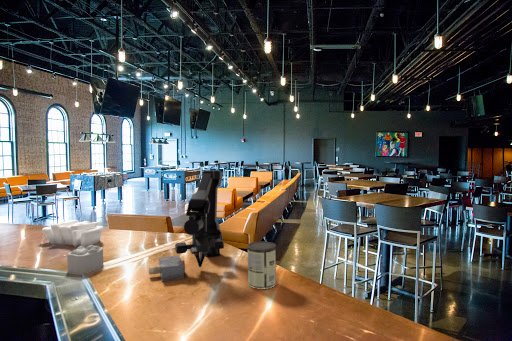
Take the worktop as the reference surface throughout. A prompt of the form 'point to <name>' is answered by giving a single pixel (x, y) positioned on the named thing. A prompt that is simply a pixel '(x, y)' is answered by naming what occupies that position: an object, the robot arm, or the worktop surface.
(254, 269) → the coffee can
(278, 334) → the worktop surface
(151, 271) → the pin
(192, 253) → the robot arm
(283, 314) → the worktop surface
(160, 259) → the block
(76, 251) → the lumpy-topped squat cylinder
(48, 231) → the wavy white extrusion
